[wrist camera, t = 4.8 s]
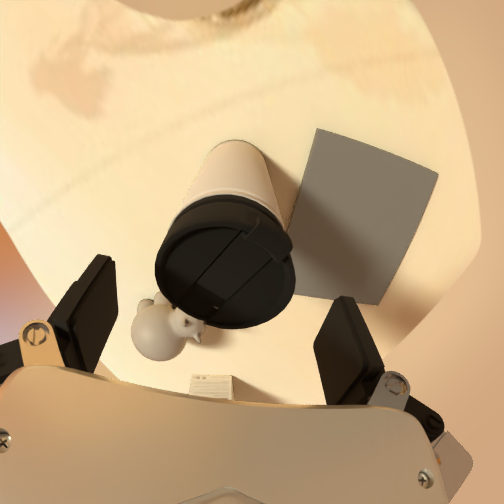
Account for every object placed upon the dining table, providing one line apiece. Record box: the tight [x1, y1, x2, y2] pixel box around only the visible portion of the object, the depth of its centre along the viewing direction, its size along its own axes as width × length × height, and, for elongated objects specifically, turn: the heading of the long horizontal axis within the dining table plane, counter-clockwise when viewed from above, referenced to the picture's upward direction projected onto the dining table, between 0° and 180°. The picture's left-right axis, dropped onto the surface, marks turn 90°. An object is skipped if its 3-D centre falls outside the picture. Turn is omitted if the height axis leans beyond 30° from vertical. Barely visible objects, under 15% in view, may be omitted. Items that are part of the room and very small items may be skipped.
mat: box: [287, 128, 438, 305], centre depth 33 cm, size 20×16×1 cm
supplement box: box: [189, 375, 234, 400], centre depth 43 cm, size 7×7×13 cm
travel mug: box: [155, 140, 296, 329], centre depth 20 cm, size 6×7×20 cm
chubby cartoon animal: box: [131, 291, 206, 361], centre depth 34 cm, size 7×12×8 cm, turn 116°
